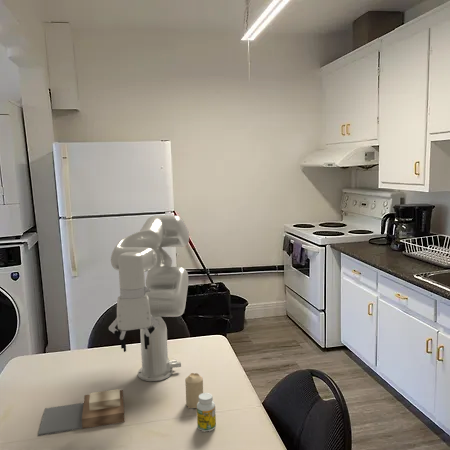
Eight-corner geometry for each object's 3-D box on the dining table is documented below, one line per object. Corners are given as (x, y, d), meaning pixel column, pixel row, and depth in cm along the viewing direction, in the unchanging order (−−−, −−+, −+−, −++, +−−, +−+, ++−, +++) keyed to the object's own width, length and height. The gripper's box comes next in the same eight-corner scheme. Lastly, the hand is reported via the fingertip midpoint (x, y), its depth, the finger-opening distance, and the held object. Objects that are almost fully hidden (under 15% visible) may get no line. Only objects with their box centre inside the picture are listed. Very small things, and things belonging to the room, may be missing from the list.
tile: (119, 396, 139) (119, 388, 139) (120, 406, 133) (119, 398, 133) (90, 400, 137) (90, 393, 136) (89, 410, 131) (89, 402, 131)
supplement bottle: (218, 423, 128) (217, 393, 127) (211, 434, 123) (210, 402, 122) (202, 420, 130) (201, 390, 129) (194, 430, 125) (193, 399, 124)
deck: (123, 398, 144) (122, 389, 143) (124, 421, 130) (124, 412, 130) (85, 404, 141) (84, 395, 140) (82, 428, 127) (81, 419, 127)
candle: (190, 411, 135) (189, 380, 134) (183, 402, 140) (182, 373, 139) (206, 406, 138) (205, 376, 136) (199, 398, 143) (198, 369, 141)
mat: (85, 404, 141) (85, 402, 140) (82, 428, 127) (82, 427, 127) (45, 409, 138) (45, 408, 137) (38, 435, 124) (38, 434, 124)
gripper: (159, 286, 139) (161, 341, 141) (103, 291, 135) (106, 347, 137) (162, 293, 132) (164, 350, 134) (103, 298, 127) (106, 357, 130)
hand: (135, 348), depth 135 cm, fingers open, 5 cm apart
